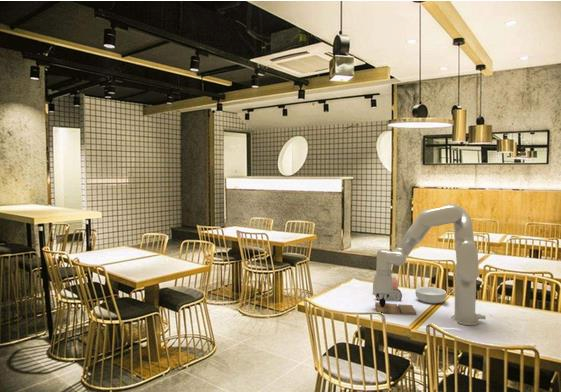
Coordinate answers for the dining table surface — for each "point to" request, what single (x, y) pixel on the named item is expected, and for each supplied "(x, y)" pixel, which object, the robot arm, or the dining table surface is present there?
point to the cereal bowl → (430, 294)
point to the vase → (394, 281)
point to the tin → (396, 295)
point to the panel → (387, 308)
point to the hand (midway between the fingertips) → (382, 306)
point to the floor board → (406, 309)
